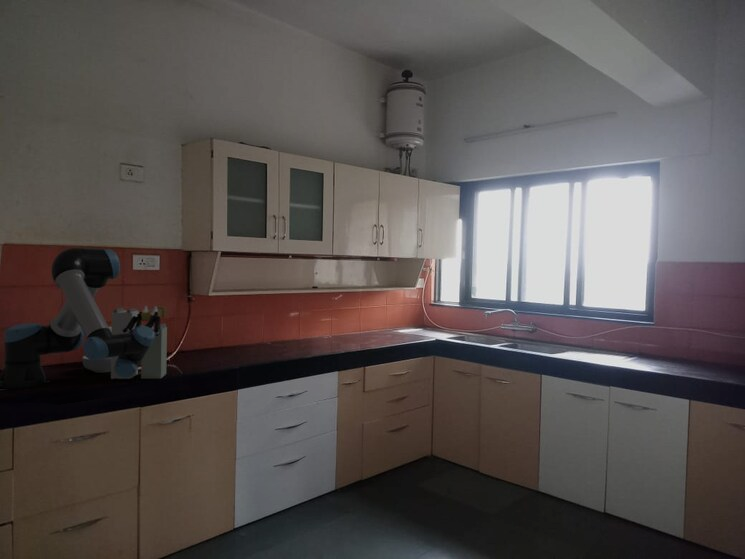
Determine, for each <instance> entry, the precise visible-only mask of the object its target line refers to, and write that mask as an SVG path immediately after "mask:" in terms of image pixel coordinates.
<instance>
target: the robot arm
mask: <svg viewBox="0 0 745 559" xmlns="http://www.w3.org/2000/svg"><path fill="white" fill-rule="evenodd" d="M120 270H121V264H120V259H119V256H118V254H117V253H116V252H115V251H114V250H112V249H105V248H86V247H85V248H81V247H79V248H78V247H70V248H67V249H64V250H63V251H61V252H60V253H59V254H57V255H56V257H55V258H54V260H53V262H52V265H51V276H52V280H53V282H54V283H55V286H56V287H58V288H60V289H61V291H62V293H63V295H64V296H65V298H66V300H65V302H64V304H63V306H62V308H61V310H60V312H59V314H58V316H55V317H53V318H52V319H51V320H50V322H49V324H48V325H43V326H42V325H41V323H38V322H33V323H32V322H31V323H21V324H17V325H14V326H10V327H9V328H7V329H5V332H4V339H3V342H4V366H3V369H2V372H1V373H0V374H1V375H0V388H2V389H22V388H23V389H24V388H30V387H36V386H40V385H43V384H45V383H46V375H45V371H44V369H43V367H42V366H43V365H42V364H41V356H45V355H53V354H55V355H56V354H64V353H69V352H73V351H77V350H78V349H79V348H80V347H81V346H82V349H83V354H84V356H86V357H87V358H88V359H90V360H96V359H105V358H110V357H116V356H119V357H118V359H117V361H116V362H115V366H114V371H115V373H116V374H117V375H119V376H122V377H131V376H133V375H134V374H135V372H136V371H137V369H138V368H139V366H140V364H141V361H142V359H143V357H144V355H145V354H146V352H147V351H148V349H149V347H150V346H151V345H152V343H153V341H154V338H155V335H156V336H158V335H159V332H158V330H159V326H160V325H161V317H160V316H158V310H157V305H155V306H154V307H153V308H152V309H153V312H152V314H151V317H152V318H151V319H150V320H149V321H147V323H146V324H147V325H146V324H145V326H144V325H142V322H143V321H142V313H143V312H146V311H149V310H148V306H147V305H145V306H144V307H143V309H142V311H140V312H139V314H137V317H135V316H133V317H132V319H131V320H130V322H129V323H128V325H127V327H126V328H125V329H123V334H117V335H113V334H112V333H111V331H110V329H109V327H110V326H108V325H109V324H107V323H108V322H107V321H106V319H105V317H104V316H103V314H102V312H101V309H100V308H99V306H98V305H97V303H96V301H95V297H96V294H97V292H98V291H99V289H102V288H104V287H105V286H106V285H107V283H108V281H109V280H113V279H117V278H118V277H119V275H120V273H121V272H120ZM135 323H136V326H135V329H133V330H132V328H133V327H134V325H135ZM152 327H154V329H153V330H152V329H151V328H152ZM131 330H132V331H131ZM84 336H85V338H86V339H85V340H84ZM82 344H83V345H82ZM138 370H139V369H138Z"/></svg>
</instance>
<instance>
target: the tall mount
mask: <svg viewBox="0 0 745 559" xmlns="http://www.w3.org/2000/svg"><path fill="white" fill-rule="evenodd" d="M139 313H140V312H139V310H138V308H137V307H133V308H128V309H126V310H125V307H118V308H115V309H113V312H111V327H112V328H111V329H112V334H113V335H117V334H123V329H125V328H126V327H127V325H128V323H129V322H130V320H131V319H132V317H133V316H135V317H137V314H139ZM135 326H136V323H135V325H134V327H133V328H132V330H133V329H135ZM132 330H131V331H132ZM118 357H119V356H116V357H111V372H110V379H111V380H114V379H115V378H116V379H118V380H119V379H121V380H124V379H126V380H127V379H128V380H131V379H133V378H134V377H135V376H137V375H138V374H139V373H138V372H139V369H137V371H136V372H135V374H134V375H133V376H131V377H122V376H119V375H117V374H116V373H115V371H114V366H115V362H116V361H117V359H118ZM130 378H131V379H130ZM116 379H115V380H116Z"/></svg>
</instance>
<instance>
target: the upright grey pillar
mask: <svg viewBox="0 0 745 559" xmlns="http://www.w3.org/2000/svg"><path fill="white" fill-rule="evenodd" d="M145 325H147V323H146V324H145ZM145 325H143V326H145ZM151 329H152V330H153V329H154V326H153V327H152V328H151ZM158 332H159V335H158V336H156V335H155V338H154V341H153V343H152V345H151V346H150V347H149V349H148V351H147V352H146V354H145V355H144V357H143V359H142V361H141V362H140V364H141V366H140V368H141V369H140V378H141V379H144V380H145V379H162V378H163V377H164V376H166V374H167V357H168V356H167V349H168V347H167V346H168V344H167V343H168V342H167V341H168V326H167V323H165V322H164V323H160V326H159V330H158ZM141 379H140V380H141Z"/></svg>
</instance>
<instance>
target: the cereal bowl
mask: <svg viewBox="0 0 745 559" xmlns="http://www.w3.org/2000/svg"><path fill="white" fill-rule="evenodd" d="M81 360H82V364H83V365H82V366H83V367H84V368H86V369H87V370H89V371H92V372H94V373H97V374H104V373H111V357H110V358H105V359H96V360H90V359H88V358H87V357H86V356H85V355H83V356H82V359H81Z"/></svg>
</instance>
